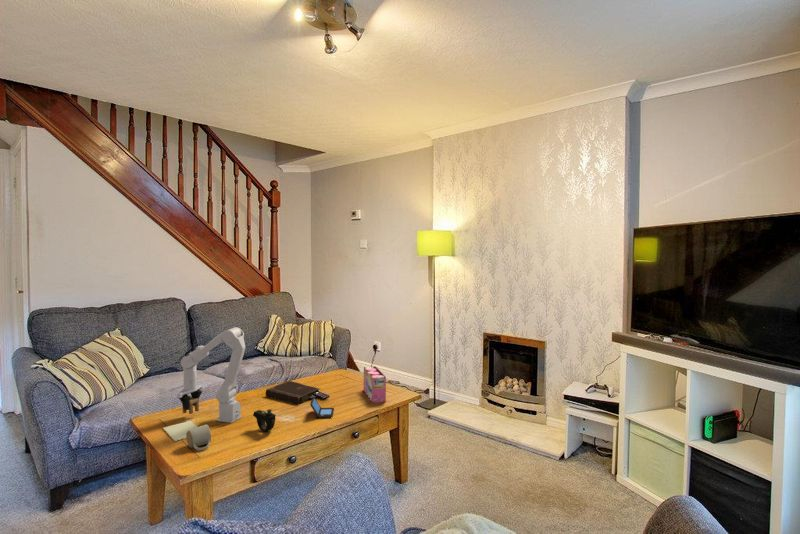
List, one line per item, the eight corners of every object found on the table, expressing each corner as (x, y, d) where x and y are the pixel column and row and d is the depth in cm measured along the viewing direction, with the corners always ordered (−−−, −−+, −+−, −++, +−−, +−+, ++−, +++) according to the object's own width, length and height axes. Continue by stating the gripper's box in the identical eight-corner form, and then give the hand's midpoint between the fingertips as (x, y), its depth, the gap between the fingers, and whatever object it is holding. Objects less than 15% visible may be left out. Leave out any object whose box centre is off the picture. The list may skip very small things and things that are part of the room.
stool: (198, 410, 213) (198, 398, 212) (191, 414, 208) (190, 401, 208) (190, 409, 214) (190, 397, 214) (182, 412, 209) (182, 400, 209)
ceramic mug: (185, 445, 181) (185, 427, 181) (205, 439, 187) (205, 421, 187) (193, 454, 174) (193, 435, 173) (214, 448, 179) (214, 429, 179)
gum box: (362, 389, 255) (362, 366, 255) (375, 388, 258) (375, 365, 257) (372, 403, 232) (372, 378, 232) (386, 401, 235) (386, 376, 234)
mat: (204, 433, 193) (204, 432, 193) (174, 441, 184) (174, 440, 184) (191, 421, 206) (191, 420, 206) (163, 428, 198) (163, 427, 198)
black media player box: (298, 406, 229) (298, 397, 228) (265, 398, 242) (265, 389, 241) (322, 396, 245) (322, 387, 244) (290, 388, 258) (290, 380, 257)
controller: (269, 435, 191) (269, 412, 191) (251, 428, 198) (251, 407, 198) (277, 431, 195) (277, 409, 194) (259, 425, 202) (259, 404, 201)
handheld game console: (332, 418, 211) (332, 403, 211) (310, 419, 210) (309, 404, 210) (334, 409, 223) (334, 395, 223) (313, 410, 222) (312, 395, 222)
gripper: (194, 375, 219) (195, 401, 219) (171, 383, 205) (172, 412, 205) (206, 376, 216) (206, 403, 217) (183, 385, 203) (184, 413, 203)
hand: (190, 407), depth 211 cm, fingers closed on stool, 5 cm apart
